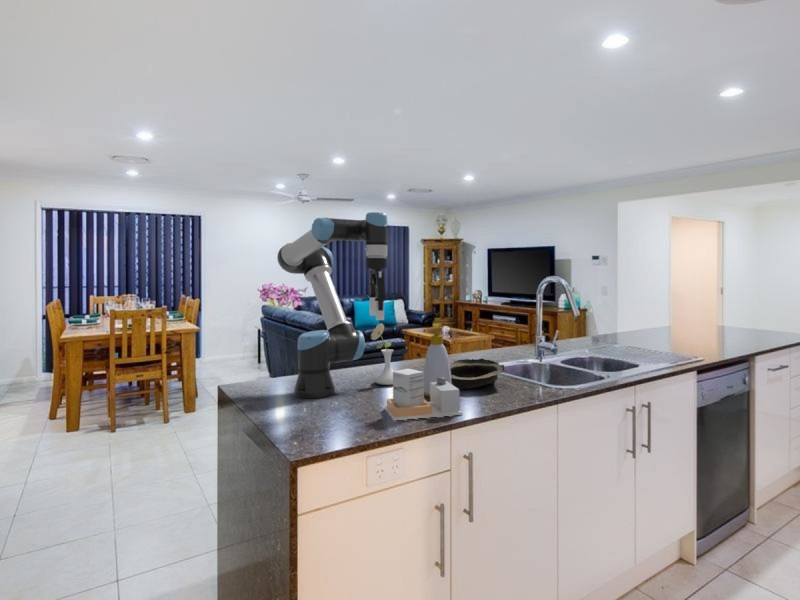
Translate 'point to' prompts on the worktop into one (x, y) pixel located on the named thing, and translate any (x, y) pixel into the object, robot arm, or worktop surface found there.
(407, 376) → the supplement box
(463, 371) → the stone bowl
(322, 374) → the robot arm
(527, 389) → the worktop surface
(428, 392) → the soap bottle
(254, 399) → the worktop surface
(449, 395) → the tan white boxy piece
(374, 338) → the flower in vase
